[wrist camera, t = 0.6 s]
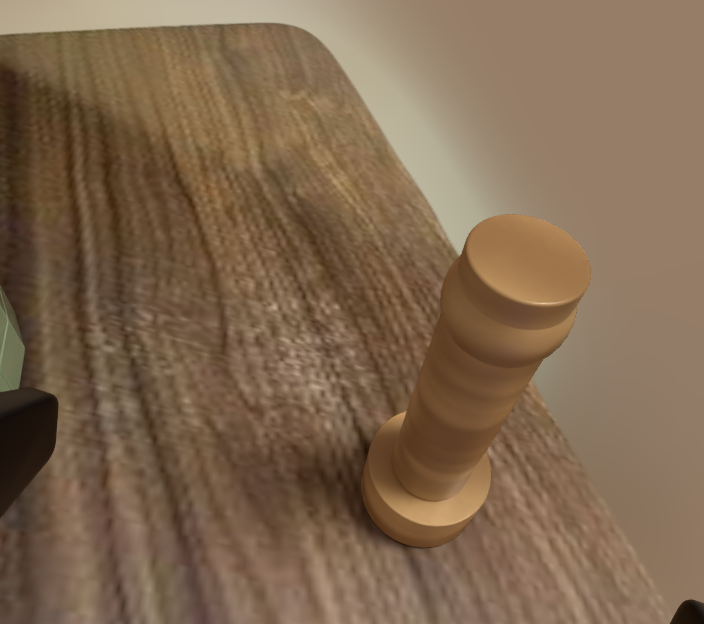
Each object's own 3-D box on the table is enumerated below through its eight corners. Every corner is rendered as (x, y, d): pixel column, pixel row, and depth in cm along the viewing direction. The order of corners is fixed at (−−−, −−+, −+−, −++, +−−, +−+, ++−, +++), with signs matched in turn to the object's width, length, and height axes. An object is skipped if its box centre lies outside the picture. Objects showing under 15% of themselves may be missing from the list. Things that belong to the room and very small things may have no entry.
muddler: (476, 556, 23) (651, 353, 12) (355, 538, 23) (425, 320, 12) (473, 445, 26) (612, 204, 15) (366, 429, 26) (430, 177, 15)
